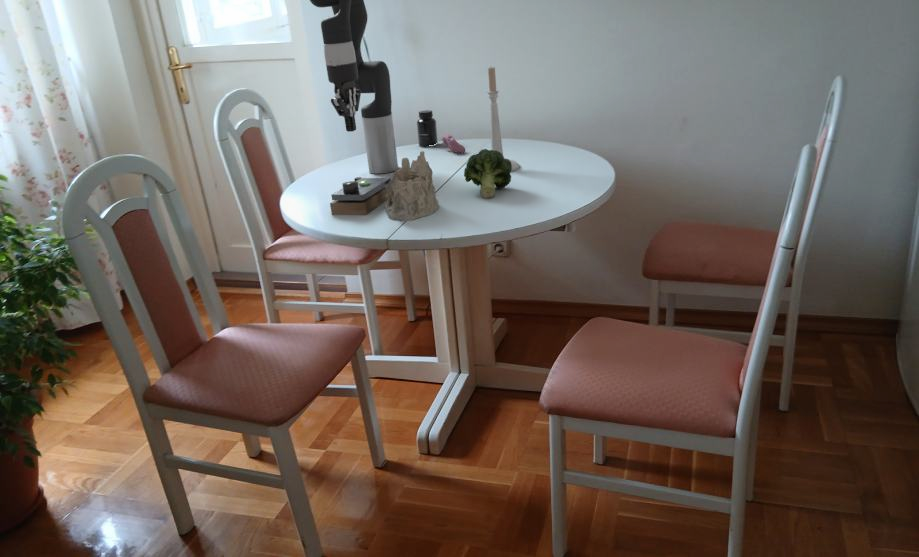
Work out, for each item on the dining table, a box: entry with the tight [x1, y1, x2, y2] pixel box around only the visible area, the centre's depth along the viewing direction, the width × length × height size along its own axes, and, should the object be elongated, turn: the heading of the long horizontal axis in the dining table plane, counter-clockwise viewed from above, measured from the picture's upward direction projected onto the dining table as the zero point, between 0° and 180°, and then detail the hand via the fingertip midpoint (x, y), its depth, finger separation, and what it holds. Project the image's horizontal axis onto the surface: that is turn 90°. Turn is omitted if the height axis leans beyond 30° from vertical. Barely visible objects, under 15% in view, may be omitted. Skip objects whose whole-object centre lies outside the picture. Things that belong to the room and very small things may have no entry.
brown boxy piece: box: [329, 176, 388, 216], centre depth 200 cm, size 20×13×5 cm, turn 162°
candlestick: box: [486, 66, 520, 173], centre depth 219 cm, size 13×13×30 cm
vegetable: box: [463, 148, 512, 199], centre depth 199 cm, size 12×13×15 cm
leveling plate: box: [331, 177, 392, 201], centre depth 198 cm, size 18×9×4 cm, turn 162°
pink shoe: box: [441, 134, 467, 154], centre depth 250 cm, size 10×5×7 cm, turn 18°
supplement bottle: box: [416, 109, 439, 147], centre depth 262 cm, size 7×7×12 cm
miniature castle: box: [384, 150, 440, 222], centre depth 188 cm, size 16×16×15 cm
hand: (351, 130), depth 191 cm, fingers closed
